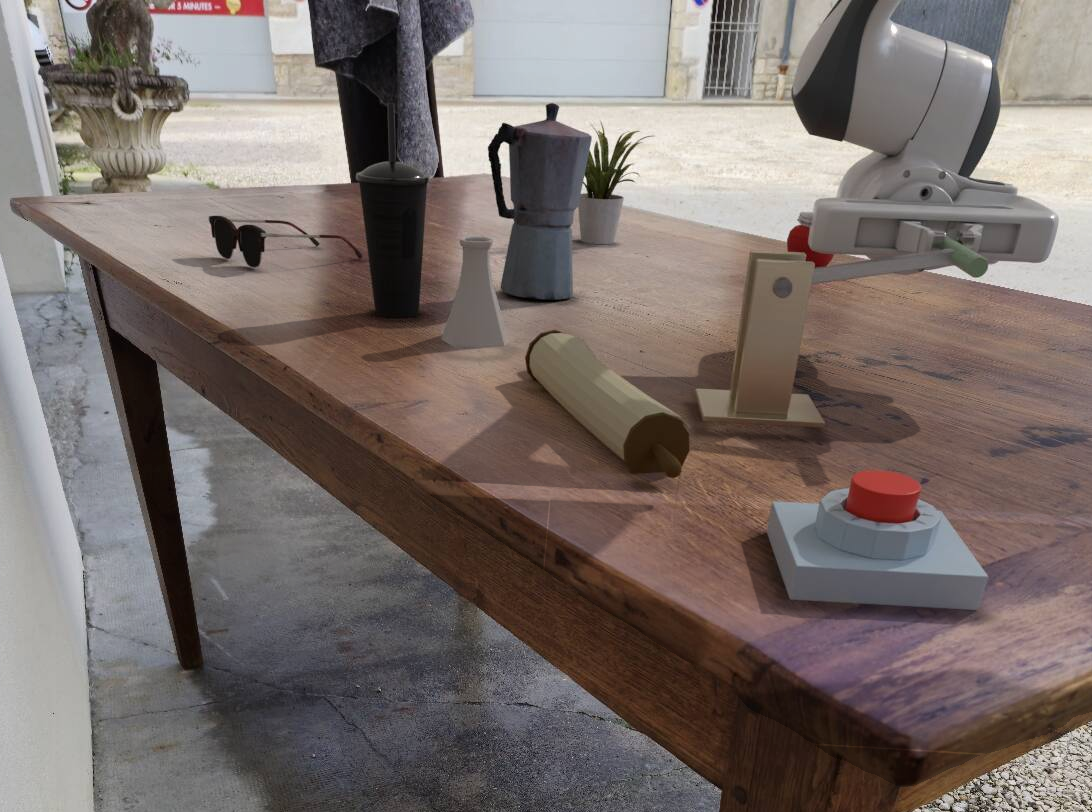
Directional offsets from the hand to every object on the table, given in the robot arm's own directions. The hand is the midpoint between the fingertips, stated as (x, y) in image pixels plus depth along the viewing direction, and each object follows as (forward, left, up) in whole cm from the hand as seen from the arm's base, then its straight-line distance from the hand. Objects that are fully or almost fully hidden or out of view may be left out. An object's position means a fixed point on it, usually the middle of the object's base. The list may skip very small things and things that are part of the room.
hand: (953, 245), depth 83 cm
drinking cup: (+50, -30, -14) cm, 60 cm away
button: (+11, +32, -10) cm, 35 cm away
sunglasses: (+69, -59, -14) cm, 92 cm away
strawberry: (0, -57, -14) cm, 59 cm away
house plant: (+26, -85, -14) cm, 90 cm away
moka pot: (+35, -43, -14) cm, 57 cm away
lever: (+7, +2, -3) cm, 8 cm away
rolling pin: (+27, +7, -14) cm, 32 cm away
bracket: (+14, +2, -14) cm, 20 cm away
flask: (+40, -17, -14) cm, 45 cm away
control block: (+11, +32, -14) cm, 37 cm away
